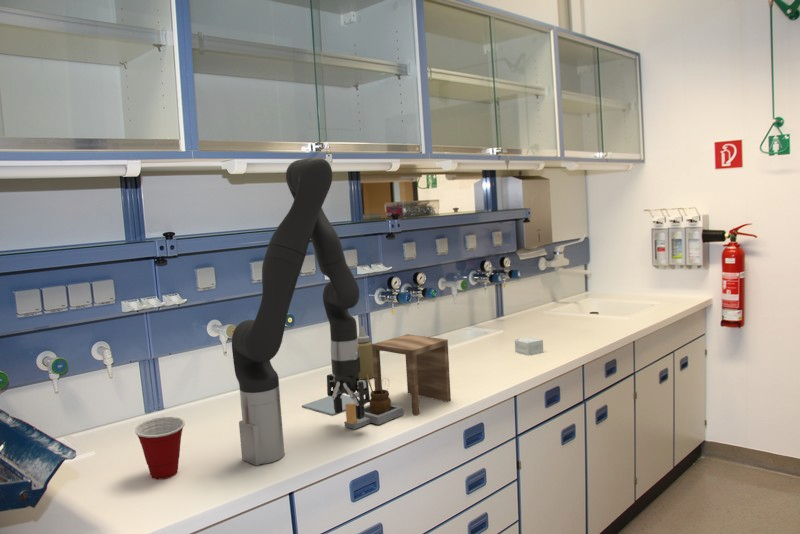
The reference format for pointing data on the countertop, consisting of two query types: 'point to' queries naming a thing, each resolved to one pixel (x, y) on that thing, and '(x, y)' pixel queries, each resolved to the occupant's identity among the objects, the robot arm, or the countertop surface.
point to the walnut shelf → (418, 366)
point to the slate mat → (328, 405)
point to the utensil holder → (379, 400)
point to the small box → (529, 346)
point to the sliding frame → (369, 416)
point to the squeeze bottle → (365, 355)
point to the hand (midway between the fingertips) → (349, 415)
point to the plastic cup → (161, 445)
